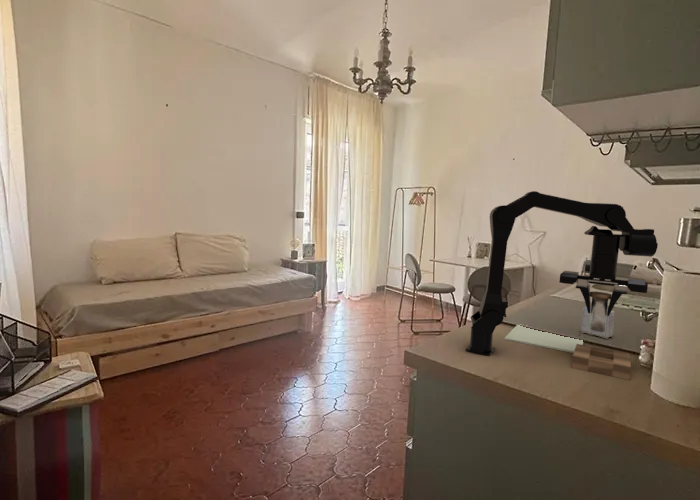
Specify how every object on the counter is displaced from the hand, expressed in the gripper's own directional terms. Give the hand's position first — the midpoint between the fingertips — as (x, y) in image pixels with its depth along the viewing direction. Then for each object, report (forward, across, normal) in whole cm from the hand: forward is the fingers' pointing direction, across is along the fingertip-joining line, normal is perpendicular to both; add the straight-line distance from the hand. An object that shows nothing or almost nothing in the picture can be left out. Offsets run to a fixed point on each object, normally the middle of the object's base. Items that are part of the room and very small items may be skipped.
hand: (598, 314), depth 105 cm
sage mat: (+13, +14, -15) cm, 24 cm away
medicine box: (+13, +1, -30) cm, 33 cm away
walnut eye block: (+13, -2, +2) cm, 13 cm away
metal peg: (+4, 0, 0) cm, 4 cm away
